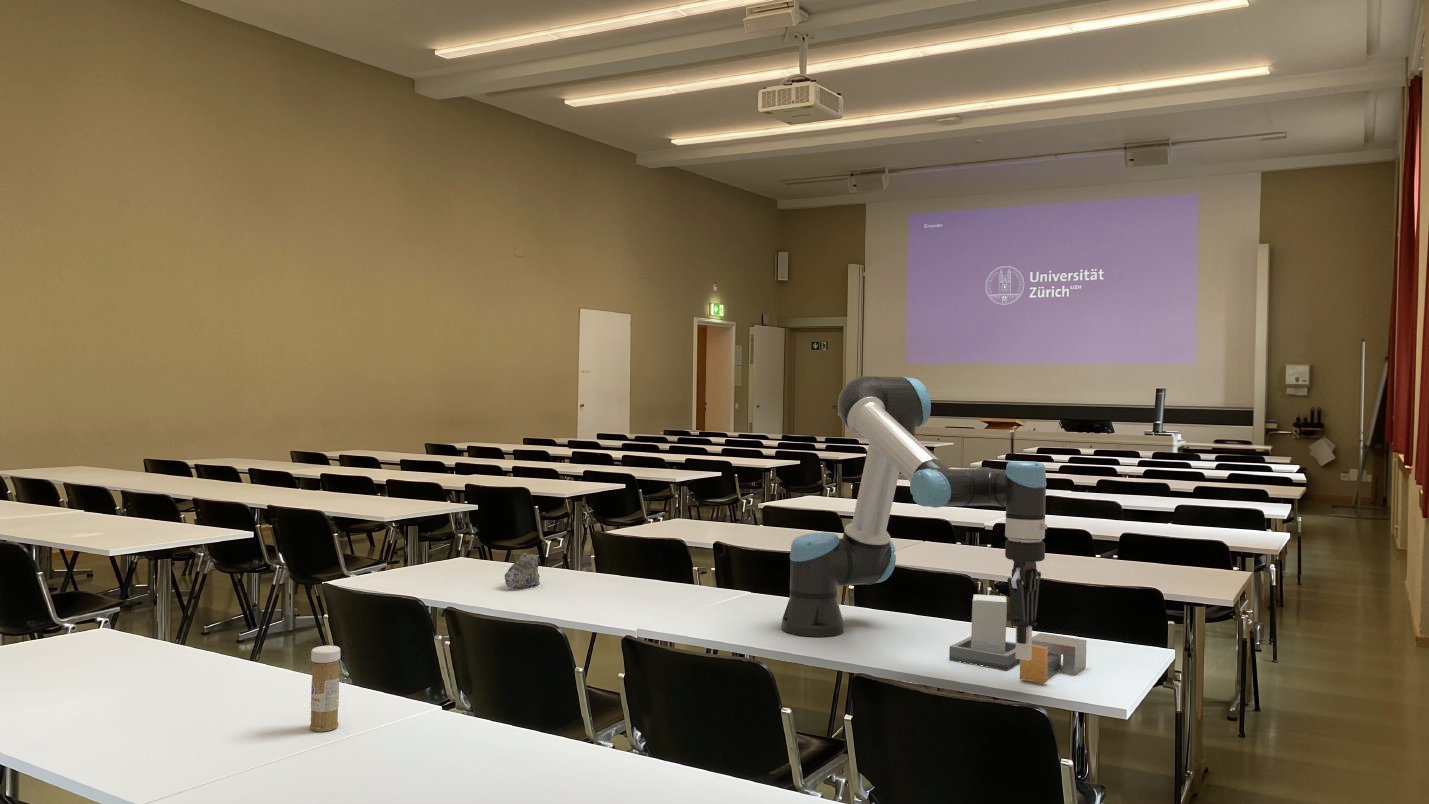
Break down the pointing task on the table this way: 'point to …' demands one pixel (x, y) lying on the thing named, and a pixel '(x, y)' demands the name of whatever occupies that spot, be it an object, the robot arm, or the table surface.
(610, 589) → the table surface
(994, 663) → the cradle
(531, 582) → the mineral rock
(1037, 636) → the pin mount
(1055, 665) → the lock pin
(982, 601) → the supplement box
